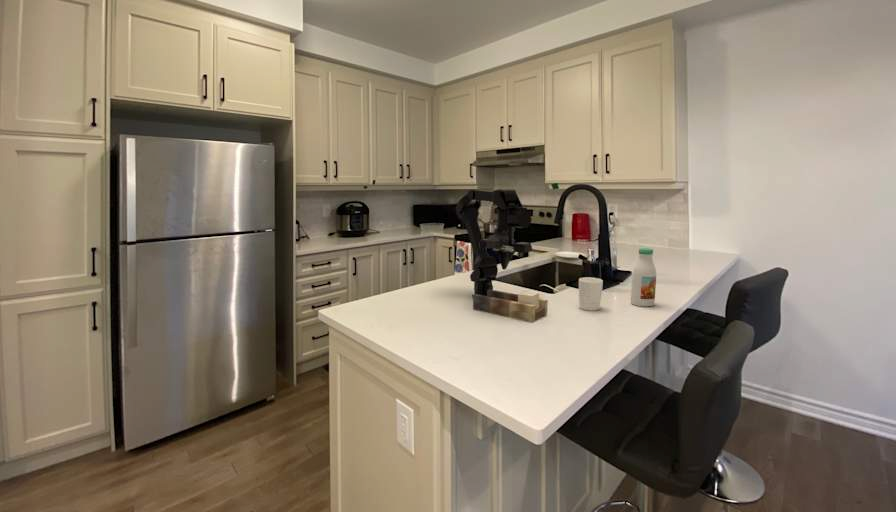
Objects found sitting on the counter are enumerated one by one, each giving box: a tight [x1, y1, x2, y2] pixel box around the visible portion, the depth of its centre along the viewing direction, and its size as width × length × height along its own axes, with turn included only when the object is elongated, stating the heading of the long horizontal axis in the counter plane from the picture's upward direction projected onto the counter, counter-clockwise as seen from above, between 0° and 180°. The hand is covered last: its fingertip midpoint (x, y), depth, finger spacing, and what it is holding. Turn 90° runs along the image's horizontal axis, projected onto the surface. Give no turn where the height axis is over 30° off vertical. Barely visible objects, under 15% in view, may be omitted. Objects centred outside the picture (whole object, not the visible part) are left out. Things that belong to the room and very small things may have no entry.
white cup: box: [578, 276, 604, 311], centre depth 145 cm, size 8×8×10 cm
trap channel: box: [472, 289, 549, 323], centre depth 142 cm, size 23×10×5 cm, turn 51°
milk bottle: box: [630, 247, 657, 308], centre depth 148 cm, size 8×8×20 cm
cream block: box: [517, 290, 540, 310], centre depth 137 cm, size 5×5×5 cm
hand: (504, 269), depth 149 cm, fingers closed
